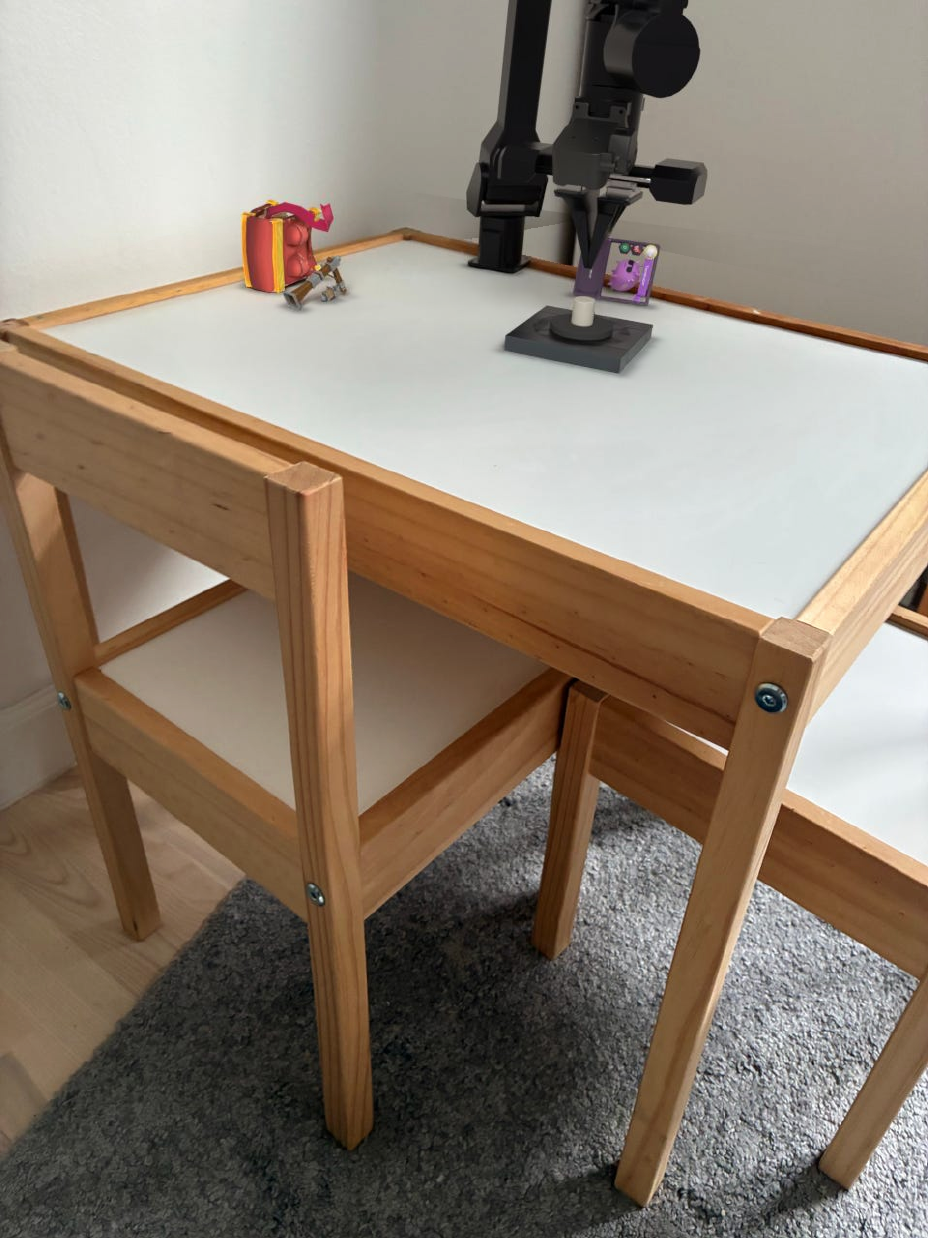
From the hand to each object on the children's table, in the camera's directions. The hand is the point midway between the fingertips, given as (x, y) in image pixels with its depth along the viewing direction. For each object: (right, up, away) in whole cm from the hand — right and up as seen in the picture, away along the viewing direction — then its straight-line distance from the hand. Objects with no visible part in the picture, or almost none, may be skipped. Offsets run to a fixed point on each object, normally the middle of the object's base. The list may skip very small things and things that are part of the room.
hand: (589, 267), depth 88 cm
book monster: (-32, +4, +16) cm, 36 cm away
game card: (+6, +4, +19) cm, 21 cm away
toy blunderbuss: (-29, +1, +12) cm, 31 cm away
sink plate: (0, -6, +4) cm, 8 cm away
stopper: (0, -6, +4) cm, 7 cm away
